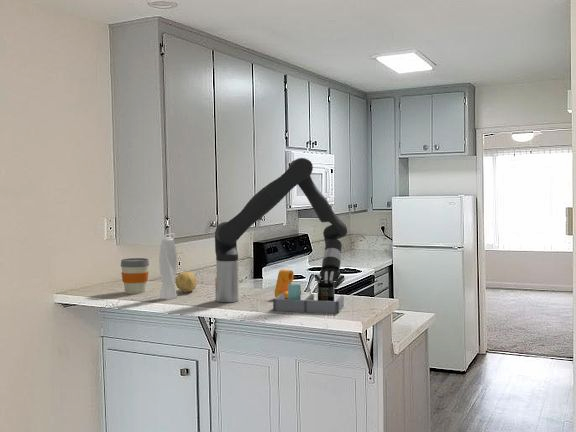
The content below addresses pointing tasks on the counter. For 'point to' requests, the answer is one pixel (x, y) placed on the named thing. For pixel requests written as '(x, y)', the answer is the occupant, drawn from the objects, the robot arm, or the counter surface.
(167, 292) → the skyscraper
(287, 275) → the bracket
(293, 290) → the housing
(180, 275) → the potato
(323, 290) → the supplement container
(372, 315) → the counter surface
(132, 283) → the reusable coffee cup
